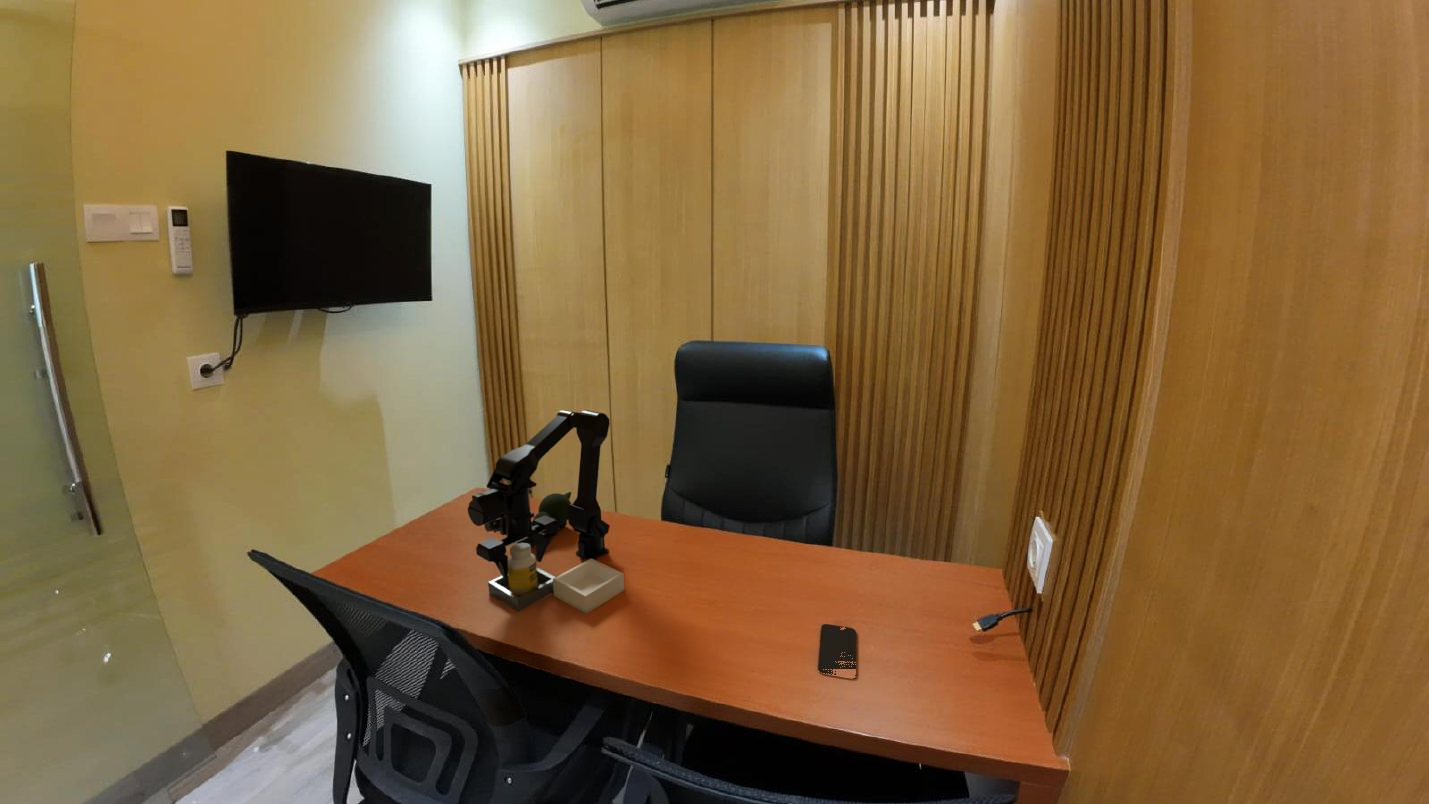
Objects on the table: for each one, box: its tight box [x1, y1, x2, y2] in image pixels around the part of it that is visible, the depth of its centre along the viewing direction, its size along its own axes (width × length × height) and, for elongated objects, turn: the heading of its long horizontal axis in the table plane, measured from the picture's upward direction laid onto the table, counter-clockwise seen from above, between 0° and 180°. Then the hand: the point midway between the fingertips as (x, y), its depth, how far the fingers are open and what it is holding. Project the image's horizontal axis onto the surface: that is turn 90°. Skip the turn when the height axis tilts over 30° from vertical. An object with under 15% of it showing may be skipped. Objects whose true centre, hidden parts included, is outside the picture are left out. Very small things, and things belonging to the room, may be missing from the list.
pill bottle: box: [508, 543, 539, 596], centre depth 127 cm, size 6×6×12 cm
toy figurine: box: [516, 488, 572, 549], centre depth 153 cm, size 9×19×25 cm
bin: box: [553, 559, 625, 615], centre depth 128 cm, size 12×12×4 cm
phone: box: [817, 623, 858, 675], centre depth 109 cm, size 7×1×15 cm
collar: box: [487, 566, 556, 612], centre depth 128 cm, size 11×12×3 cm
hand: (522, 569), depth 127 cm, fingers open, 9 cm apart
